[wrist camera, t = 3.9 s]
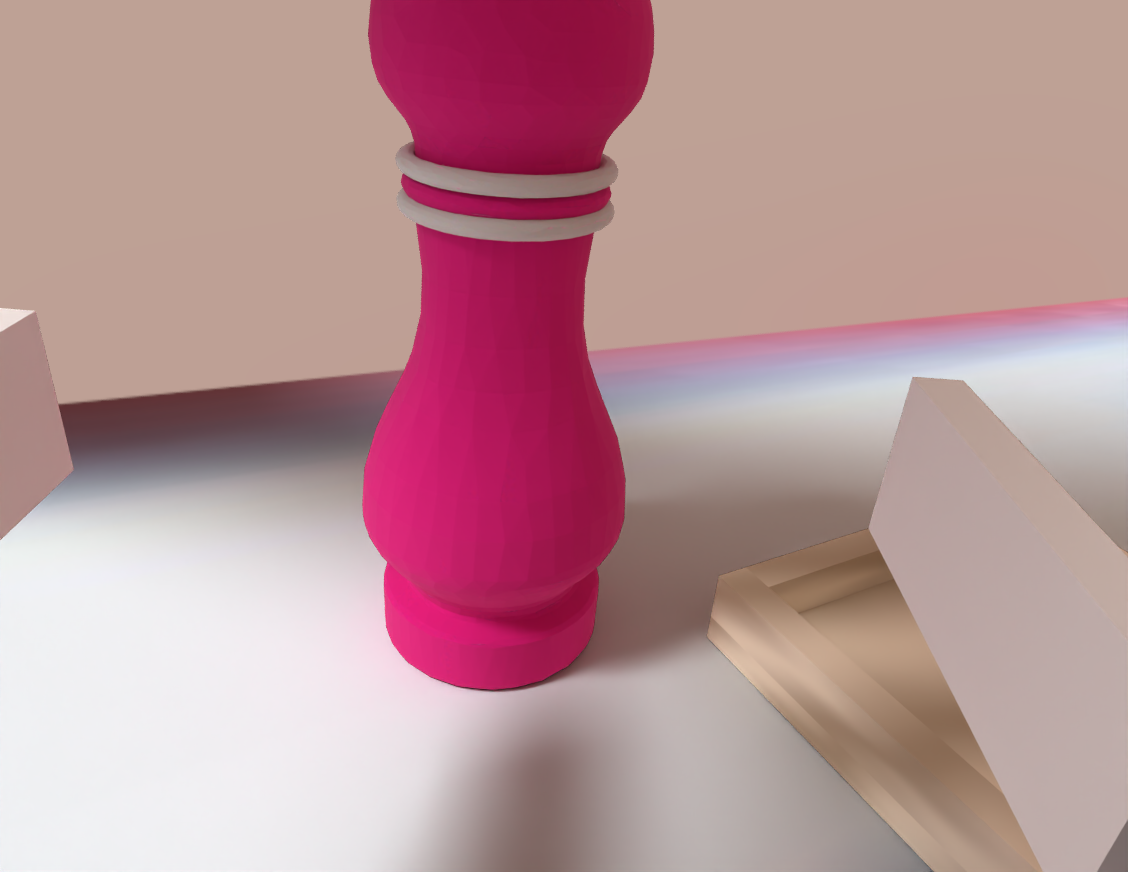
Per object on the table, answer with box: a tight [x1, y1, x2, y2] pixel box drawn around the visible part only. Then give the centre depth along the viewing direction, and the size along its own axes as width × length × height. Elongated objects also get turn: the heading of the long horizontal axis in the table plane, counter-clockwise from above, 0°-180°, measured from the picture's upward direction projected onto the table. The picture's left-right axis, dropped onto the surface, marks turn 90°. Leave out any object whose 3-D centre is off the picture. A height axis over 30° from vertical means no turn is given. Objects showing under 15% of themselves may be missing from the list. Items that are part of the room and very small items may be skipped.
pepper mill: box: [362, 0, 654, 690], centre depth 21 cm, size 7×7×20 cm
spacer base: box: [707, 529, 1128, 872], centre depth 23 cm, size 13×13×2 cm
